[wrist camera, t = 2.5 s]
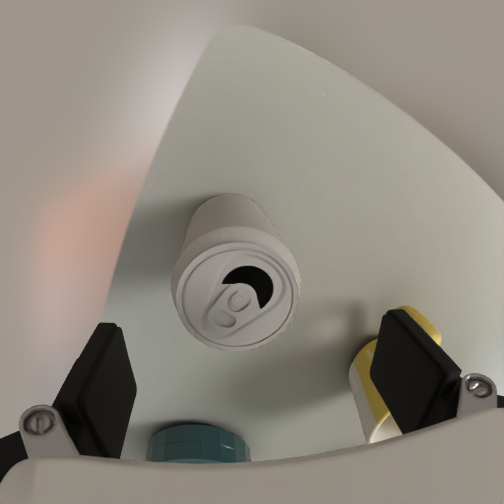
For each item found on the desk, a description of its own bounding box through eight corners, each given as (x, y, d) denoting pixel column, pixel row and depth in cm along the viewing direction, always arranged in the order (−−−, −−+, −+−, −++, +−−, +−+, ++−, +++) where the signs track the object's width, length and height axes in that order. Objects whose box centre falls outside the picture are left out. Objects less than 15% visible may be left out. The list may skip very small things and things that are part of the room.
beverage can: (284, 224, 26) (335, 286, 14) (236, 282, 27) (250, 377, 16) (221, 176, 24) (223, 202, 13) (173, 240, 25) (142, 315, 14)
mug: (394, 388, 34) (432, 445, 24) (322, 393, 33) (351, 464, 23) (436, 291, 30) (497, 340, 20) (359, 285, 28) (417, 348, 18)
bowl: (159, 470, 35) (156, 503, 30) (138, 417, 31) (130, 456, 26) (248, 469, 37) (253, 503, 31) (247, 416, 33) (253, 457, 27)
